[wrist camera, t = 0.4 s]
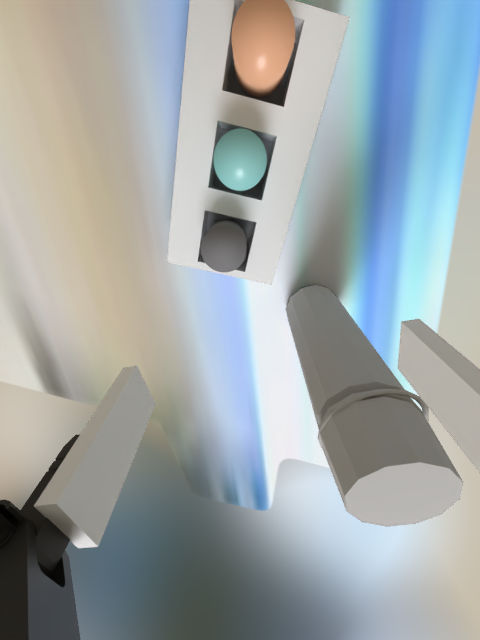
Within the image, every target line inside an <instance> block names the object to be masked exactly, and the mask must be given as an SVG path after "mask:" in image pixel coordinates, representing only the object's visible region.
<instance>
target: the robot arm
mask: <svg viewBox="0 0 480 640" xmlns="http://www.w3.org/2000/svg"><path fill="white" fill-rule="evenodd" d="M398 369H399V371H400V372H401V373H402V374H403V376H404V377H405V378H406V380H407V381H408V382H409V383H410V385H411V386H412V387H413V388H414V390H415V391H416V392H417V394H418V395H419V396H420V397H421V399H422V400H423V401H424V402H425V404H426V405H427V406H428V408H429V409H430V410H431V411H432V413H433V414H434V415H435V417H436V418H437V419H438V420H439V422H440V423H441V424H442V425H443V427H444V428H445V429H446V431H447V432H448V433H449V434H450V436H451V437H452V438H453V439H454V441H455V442H456V443H457V445H458V446H459V447H460V448H461V450H462V451H463V452H464V454H465V455H466V456H467V457H468V459H469V460H470V461H471V462H472V464H473V465H474V466H475V468H476V469H477V470H478V471H479V473H480V369H479V368H478V367H476V366H475V365H474V364H473V363H472V362H470V361H469V360H468V359H467V358H466V357H464V356H463V355H462V354H461V353H460V352H458V351H457V350H456V349H455V348H454V347H452V346H451V345H450V344H448V343H447V342H446V341H445V340H444V339H443V338H441V337H440V336H439V335H438V334H437V333H435V332H434V331H433V330H432V329H431V328H429V327H428V326H427V325H426V324H425V323H423V322H422V321H421V320H420V319H415V320H409V321H403V322H401V333H400V346H399V358H398ZM155 404H156V403H155V401H154V399H153V397H152V395H151V393H150V391H149V389H148V387H147V385H146V383H145V381H144V379H143V377H142V375H141V373H140V371H139V369H138V367H137V366H131V367H125V368H123V369H122V370H121V372H120V374H119V375H118V377H117V378H116V380H115V381H114V383H113V384H112V386H111V387H110V389H109V391H108V392H107V394H106V395H105V397H104V398H103V400H102V401H101V403H100V404H99V406H98V408H97V409H96V411H95V412H94V414H93V415H92V417H91V418H90V420H89V421H88V423H87V425H86V426H85V428H84V429H83V431H82V432H81V434H80V435H75V436H74V437H73V438H72V439H71V440H70V441H69V442H68V443H67V444H66V445H65V446H64V447H63V449H62V450H61V452H60V453H59V454H58V456H57V458H56V461H54V462H53V463H52V465H51V466H50V468H49V471H48V472H46V474H45V475H44V477H43V478H42V480H41V481H40V482H39V484H38V486H37V487H36V488H35V490H34V491H33V493H32V494H31V496H30V497H29V499H28V500H27V502H26V503H25V505H24V506H23V508H22V509H21V510H19V509H18V508H17V507H15V506H14V505H13V504H12V503H11V502H10V501H7V500H0V640H80V634H79V626H78V619H77V613H76V605H75V598H74V591H73V584H72V577H71V570H70V563H69V557H68V554H67V552H66V551H65V549H66V547H67V545H68V543H69V541H71V542H72V543H73V544H74V545H75V546H76V547H78V548H86V547H98V546H99V543H100V540H101V538H102V536H103V533H104V531H105V528H106V526H107V523H108V521H109V518H110V516H111V513H112V511H113V508H114V506H115V503H116V501H117V498H118V496H119V493H120V491H121V489H122V486H123V484H124V481H125V479H126V476H127V474H128V471H129V469H130V466H131V464H132V461H133V459H134V456H135V454H136V451H137V449H138V446H139V444H140V441H141V438H142V436H143V434H144V431H145V429H146V426H147V424H148V421H149V419H150V416H151V414H152V411H153V409H154V406H155Z"/></svg>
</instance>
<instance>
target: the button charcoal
mask: <svg viewBox="0 0 480 640" xmlns="http://www.w3.org/2000/svg"><path fill="white" fill-rule="evenodd" d="M246 247H247V237H246V232H245V230H244V228H243V227H242V226H241V224H239V223H238V222H237V221H235V220H232V219H221V220H218V221H217V222H215V223H214V224H213V225H212V226H211V228H210V229H209V230H208V232H207V233H206V234H205V236H204V237H203V239H202V242H201V255H202V258H203V260H204V262H205V263H206V264H207V265H208V266H209V267H210V268H211V269H213V270H215V271H218V272H231V271H234V270H235V269H237V268H238V267H239V266H240V265H241V264H242V263H243V261H244V259H245V257H246Z"/></svg>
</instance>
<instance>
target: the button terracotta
mask: <svg viewBox="0 0 480 640" xmlns="http://www.w3.org/2000/svg"><path fill="white" fill-rule="evenodd" d="M294 43H295V23H294V18H293V15H292V12H291V10H290V8H289V6H288V4H287V3H286V2H285V1H284V0H245V1H244V2H243V3H242V5H241V6H240V7H239V9H238V11H237V13H236V16H235V18H234V22H233V26H232V50H233V58H234V66H235V73H236V77H237V80H238V82H239V84H240V86H241V87H242V89H243V90H244V91H245V92H246V93H248V94H249V95H251V96H254V97H265V96H267V95H269V94H271V93H272V92H274V91H275V90H276V89H277V87H278V86H279V85H280V83H281V81H282V79H283V77H284V74H285V71H286V68H287V65H288V63H289V60H290V57H291V54H292V51H293V48H294Z"/></svg>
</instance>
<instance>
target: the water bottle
mask: <svg viewBox="0 0 480 640" xmlns="http://www.w3.org/2000/svg"><path fill="white" fill-rule="evenodd" d="M286 312H287V316H288V321H289V325H290V328H291V332H292V335H293V339H294V342H295V346H296V350H297V353H298V357H299V360H300V364H301V367H302V371H303V375H304V378H305V382H306V385H307V389H308V392H309V396H310V400H311V403H312V407H313V410H314V414H315V417H316V421H317V424H318V428H319V434H318V440H319V443H320V445H321V448H322V449H323V451H324V454H325V456H326V459H327V461H328V464H329V466H330V469H331V472H332V474H333V477H334V479H335V482H336V485H337V487H338V490H339V492H340V495H341V498H342V500H343V503H344V505H345V508H346V510H347V512H348V513H350V514H351V515H353V516H354V517H356V518H357V519H359V520H360V521H361V522H365V523H370V524H376V525H382V526H397V525H407V524H416V523H419V522H421V521H424V520H427V519H430V518H432V517H435V516H438V515H441V514H442V513H443V512H445V511H446V510H447V509H448V508H449V507H451V506H452V505H453V504H454V503H456V502H457V501H458V500H459V499H460V494H461V491H462V485H463V481H462V479H461V478H460V476H459V474H458V473H457V471H456V469H455V467H454V466H453V464H452V462H451V461H450V459H449V457H448V455H447V454H446V452H445V450H444V449H443V447H442V445H441V444H440V442H439V440H438V438H437V437H436V435H435V433H434V432H433V430H432V428H431V427H430V425H429V423H428V421H429V419H428V406H427V405H426V404H425V402H424V401H423V400H422V399H421V398H420V397H419V396H417V395H415V394H413V393H411V392H408V391H406V390H405V389H404V388H403V387H402V385H401V384H400V383H399V381H398V380H397V379H396V377H395V376H394V374H393V373H392V372H391V370H390V369H389V368H388V366H387V365H386V364H385V362H384V361H383V360H382V358H381V357H380V355H379V354H378V353H377V351H376V350H375V349H374V347H373V346H372V345H371V343H370V342H369V340H368V339H367V338H366V336H365V335H364V334H363V332H362V331H361V330H360V328H359V327H358V325H357V324H356V323H355V321H354V320H353V319H352V317H351V316H350V315H349V313H348V312H347V311H346V309H345V308H344V306H343V305H342V304H341V302H340V301H339V300H338V298H337V297H336V296H335V295H334V294H333V293H332V291H331V290H330V289H329V288H326V287H322V286H318V285H312V286H308V287H304V288H301V289H300V290H298V291H297V292H296V293H295V294H294V295H292V296H291V297H290V300H289V302H288V305H287V307H286ZM410 397H411V398H413V399H415V400H416V401H417V402H418V403H419V404H420V406H421V407H422V410H423V412H422V411H421V409H420V408H419V407H418V406H417V405H416V404H415V403H414V402H413V400H412V399H411V398H410Z"/></svg>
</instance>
